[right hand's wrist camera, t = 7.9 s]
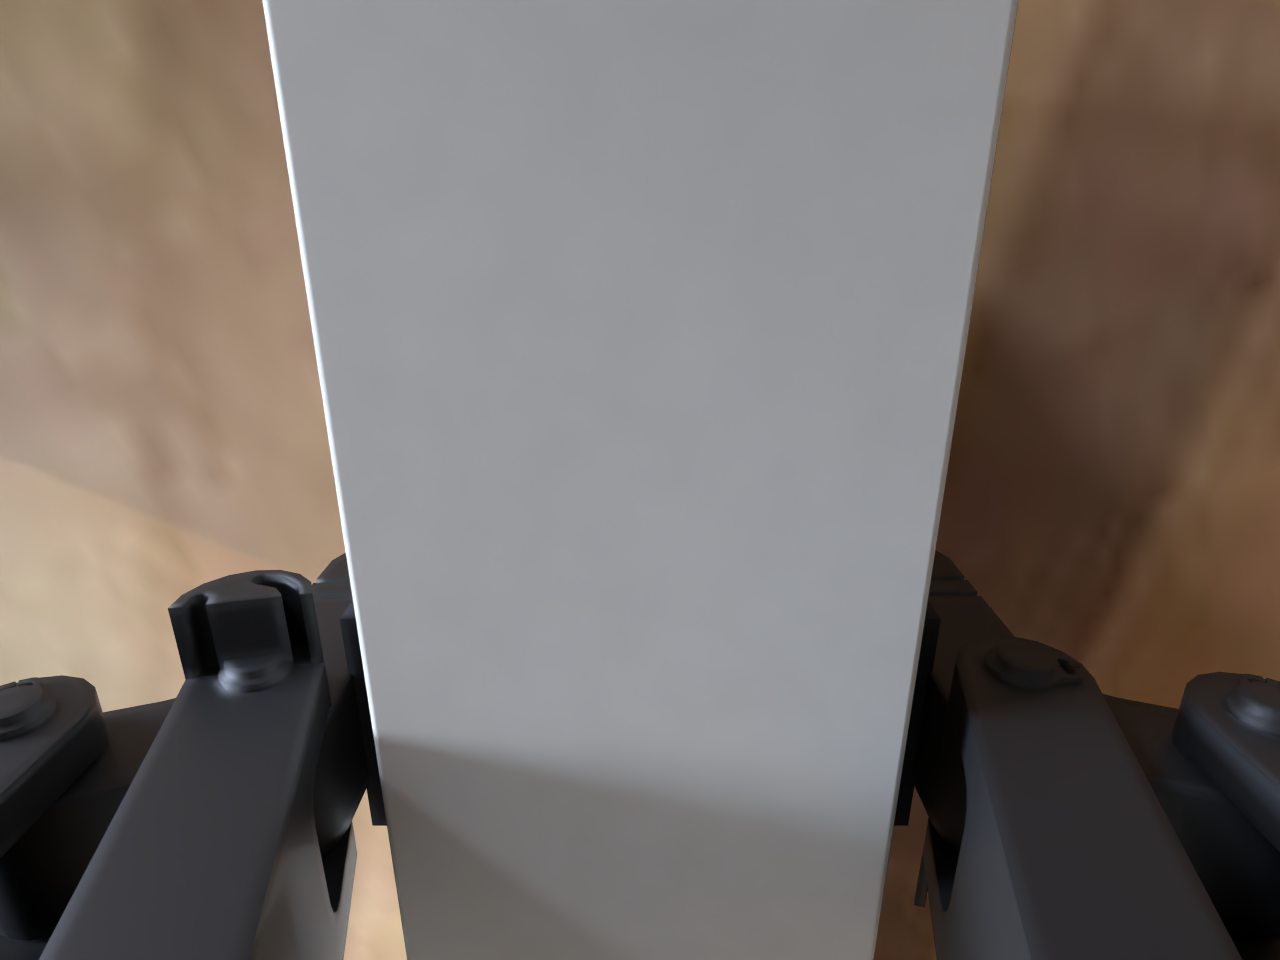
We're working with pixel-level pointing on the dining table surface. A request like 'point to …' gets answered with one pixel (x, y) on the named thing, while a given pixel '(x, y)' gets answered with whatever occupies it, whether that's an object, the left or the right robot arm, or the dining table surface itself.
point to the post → (640, 441)
